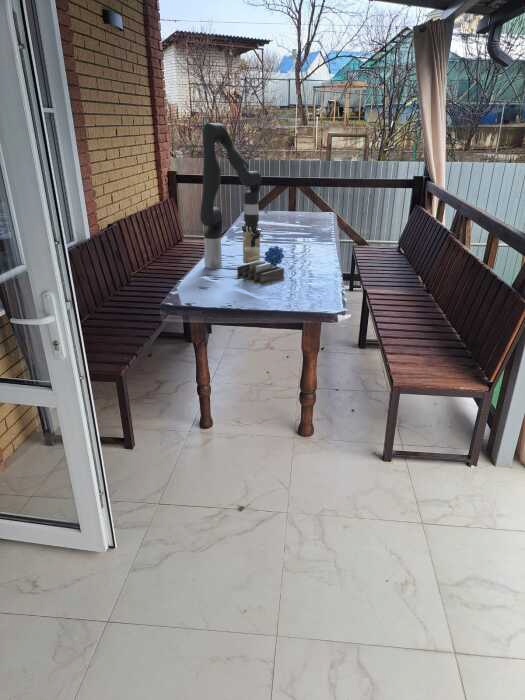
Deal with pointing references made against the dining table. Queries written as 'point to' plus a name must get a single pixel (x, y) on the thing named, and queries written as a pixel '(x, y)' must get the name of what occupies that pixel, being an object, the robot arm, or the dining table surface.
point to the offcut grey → (263, 266)
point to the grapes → (274, 256)
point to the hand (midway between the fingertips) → (251, 246)
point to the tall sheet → (250, 248)
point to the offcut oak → (253, 265)
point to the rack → (260, 274)
